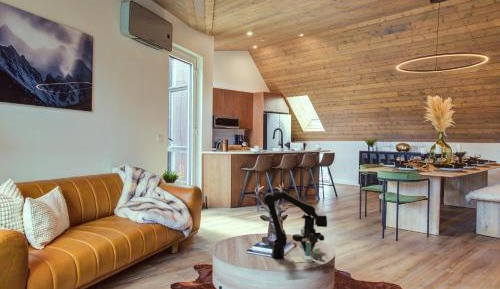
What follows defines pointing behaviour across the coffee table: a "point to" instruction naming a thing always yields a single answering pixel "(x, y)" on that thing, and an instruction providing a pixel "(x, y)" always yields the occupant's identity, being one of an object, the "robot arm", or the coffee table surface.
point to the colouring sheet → (301, 259)
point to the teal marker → (308, 249)
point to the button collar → (316, 255)
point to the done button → (316, 251)
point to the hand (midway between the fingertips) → (307, 251)
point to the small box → (306, 239)
